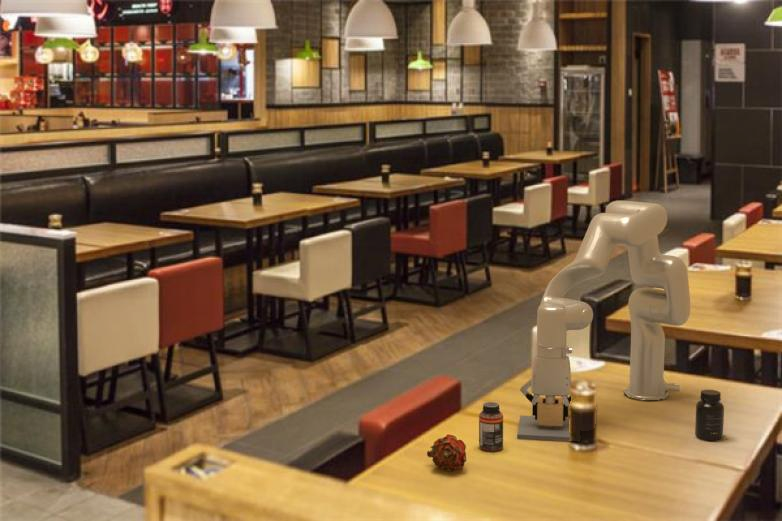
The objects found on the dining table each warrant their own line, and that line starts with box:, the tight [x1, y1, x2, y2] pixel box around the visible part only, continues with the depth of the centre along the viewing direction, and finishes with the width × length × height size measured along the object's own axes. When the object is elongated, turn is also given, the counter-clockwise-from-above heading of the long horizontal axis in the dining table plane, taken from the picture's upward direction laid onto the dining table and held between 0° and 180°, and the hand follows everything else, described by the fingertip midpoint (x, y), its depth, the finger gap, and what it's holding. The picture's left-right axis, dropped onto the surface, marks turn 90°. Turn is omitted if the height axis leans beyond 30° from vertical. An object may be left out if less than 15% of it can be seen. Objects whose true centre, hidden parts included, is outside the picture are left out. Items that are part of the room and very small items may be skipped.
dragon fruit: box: [426, 434, 467, 472], centre depth 236 cm, size 8×8×12 cm
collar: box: [537, 396, 564, 426], centre depth 262 cm, size 6×6×6 cm
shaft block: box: [516, 395, 570, 443], centre depth 262 cm, size 16×16×10 cm
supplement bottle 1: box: [478, 401, 504, 453], centre depth 248 cm, size 6×6×11 cm
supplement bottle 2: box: [694, 389, 725, 442], centre depth 255 cm, size 7×7×12 cm
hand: (550, 418), depth 262 cm, fingers closed on collar, 6 cm apart
